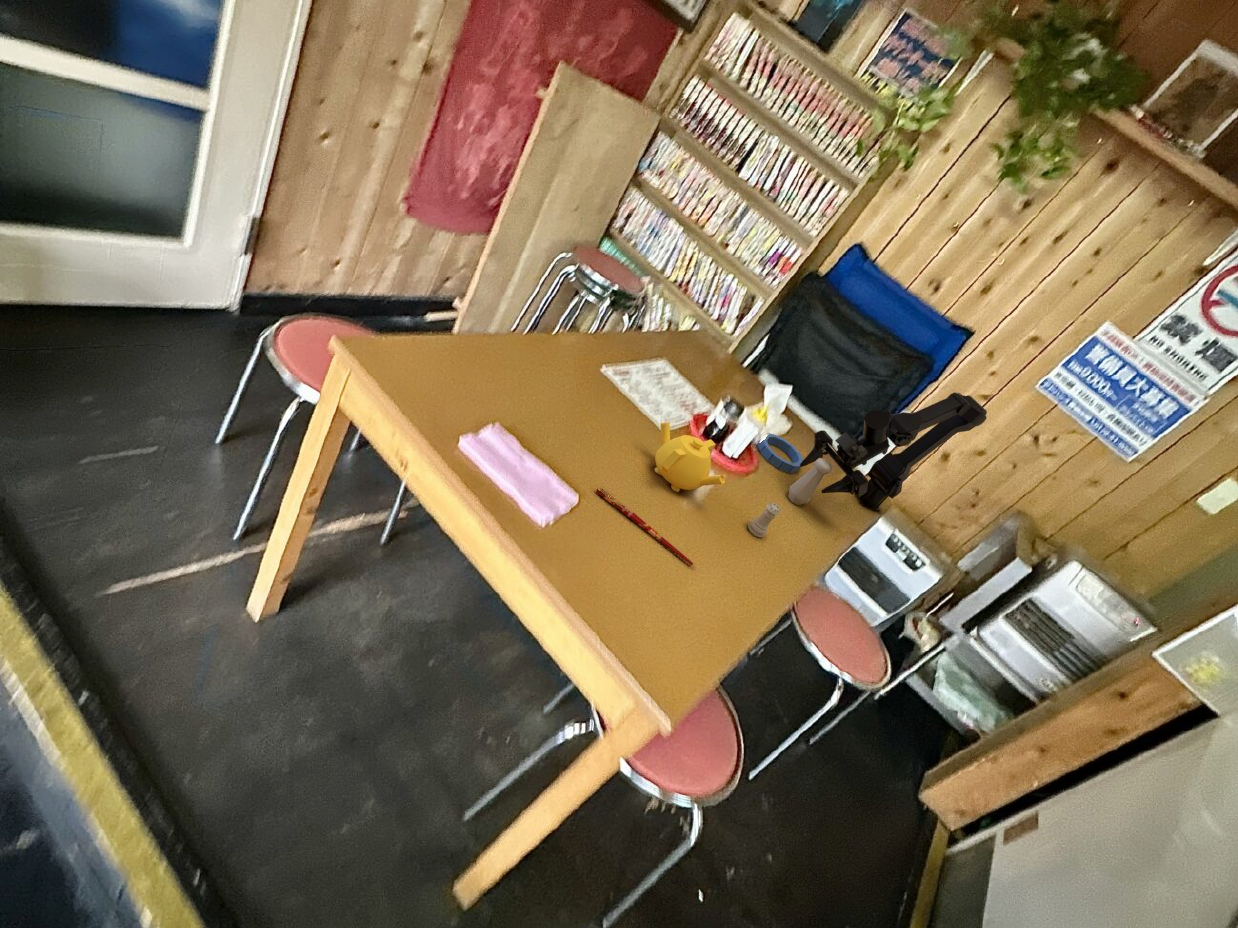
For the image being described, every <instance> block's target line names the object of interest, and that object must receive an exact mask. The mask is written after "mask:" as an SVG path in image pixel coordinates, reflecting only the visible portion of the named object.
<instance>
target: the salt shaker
mask: <svg viewBox="0 0 1238 928" xmlns="http://www.w3.org/2000/svg"><path fill="white" fill-rule="evenodd" d="M832 469H833V468H832V464H831V463H830V462H829V461H828V460H827V459H825V458H824V457H823V458H818V459H817V460H816V461H815V462H813V467H812V468H810V469H809V470H808V471H807V472H806V473H804V474H803V475H802V476H801V477H800V478H799V479H797V480H796V481H795V482H794V483H793V484H792V485H790V486H789V489H788V495H787V497H788V499H789V500H790V501H791V503H793V504H795V505H796V506H800V505H804V504H807V503H808V502H809V501H811V500H812V498H813V495H814V494H815V492H816V490H817V489H818V487H819V485H820V483H821V481H822V480H823V478H824V477H825V475H828V474H829V473H830V472H831V471H832Z"/></svg>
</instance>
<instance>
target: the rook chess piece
mask: <svg viewBox="0 0 1238 928" xmlns="http://www.w3.org/2000/svg"><path fill="white" fill-rule="evenodd" d="M780 511H781V508H780V505H778V504H777V503H776V502H770V503H768V504H767V505H766V509H764V510H763V512H762V513H761V514H760V516H758V517H756V518H753V519H752V520H750V522H749V523H748V524H747V529H748V532H750V533H751V535H753V536H754V537H756V538H763V537H765V535H766V534H767V533H768V529H769V526H770V524H771V522H772V521H773V520H774V519H775V518H776V516H779V515H780Z"/></svg>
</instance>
